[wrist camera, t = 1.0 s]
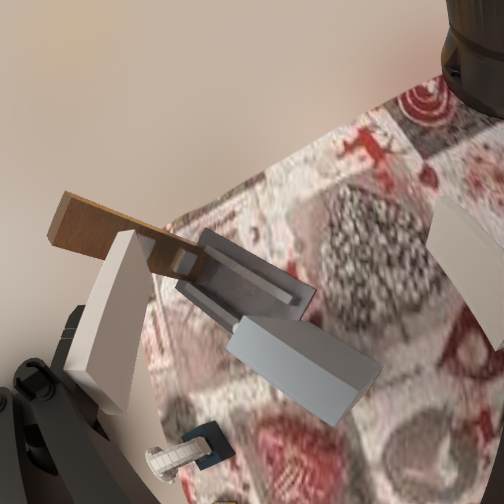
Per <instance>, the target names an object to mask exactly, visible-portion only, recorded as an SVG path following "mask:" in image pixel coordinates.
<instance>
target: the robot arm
mask: <svg viewBox="0 0 504 504" xmlns="http://www.w3.org/2000/svg"><path fill="white" fill-rule="evenodd" d="M446 3H447V10H448V17H449V25H450V28H449V31H448V34H447V37H446V40H445V43H444V47H443V49H442V53H441V65H442V73H443V77H444V79H445V81H446V83H447V85H448V86H449V88H450V89H451V91H452V92H453V93H454V94H455V95H456V96H457V97H458V98H459V99H460V100H462V101H463V102H464V103H466V104H467V105H469V106H470V107H472V108H474V109H475V110H477V111H479V112H482V113H484V114H487V115H490V116H493V117H497V118H504V0H446ZM426 247H427V249H428V250H429V251H430V253H431V254H432V255H433V257H434V258H435V259H436V261H437V262H438V263H439V265H440V266H441V267H442V269H443V270H444V272H445V273H446V274H447V276H448V277H449V279H450V280H451V281H452V283H453V284H454V286H455V287H456V289H457V290H458V292H459V293H460V295H461V296H462V298H463V299H464V301H465V302H466V304H467V305H468V307H469V308H470V310H471V311H472V313H473V315H474V316H475V318H476V319H477V321H478V323H479V324H480V326H481V327H482V329H483V331H484V332H485V334H486V336H487V338H488V339H489V341H490V343H491V344H492V346H493V348H494V350H495V351H497V350H499V349H502V348H504V250H503V249H502V248H501V247H500V246H499V245H498V243H497V242H496V241H495V240H494V239H493V238H492V237H491V236H490V235H489V234H488V233H487V232H486V231H485V230H484V229H483V228H482V227H481V226H480V225H479V224H478V223H477V222H476V221H475V220H474V219H473V218H472V217H471V216H470V215H469V214H468V213H467V212H466V211H465V210H464V209H463V208H462V207H461V206H460V205H459V204H458V203H457V202H455V201H454V200H453V199H452V198H451V197H450V196H443V197H437V200H436V205H435V210H434V215H433V219H432V223H431V227H430V232H429V236H428V240H427V243H426ZM152 283H153V278H152V276H151V273H150V271H149V268H148V265H147V263H146V260H145V257H144V254H143V252H142V249H141V246H140V243H139V240H138V237H137V235H136V232H135V230H128V231H122V232H118V234H117V236H116V238H115V240H114V242H113V244H112V246H111V248H110V250H109V253H108V255H107V257H106V259H105V261H104V264H103V266H102V268H101V270H100V273H99V275H98V278H97V280H96V282H95V285H94V287H93V289H92V292H91V294H90V296H89V299H88V301H87V304H86V305H78V306H77V307H76V308H75V310H74V311H73V312H72V313H71V314H70V316H69V318H68V321H67V323H66V325H65V330H63V333H62V336H61V340H60V341H59V344H58V346H57V349H56V352H55V355H54V357H53V360H52V363H51V366H50V368H49V367H48V366H47V365H46V364H45V363H44V361H43V360H41V359H39V358H31V359H28V360H26V361H24V362H23V363H22V364H21V365H20V366H19V367H18V369H17V371H16V372H15V375H14V379H13V386H14V388H15V389H16V390H17V391H18V392H19V394H15V395H14V394H13V393H12V392H11V391H10V390H9V389H8V388H5V387H0V504H75V503H76V504H161V503H160V502H159V501H158V500H157V499H156V497H155V496H154V495H153V494H152V493H151V491H150V490H149V489H148V487H147V486H146V485H145V484H144V482H143V481H142V480H141V478H140V477H139V476H138V474H137V473H136V472H135V470H134V469H133V468H132V466H131V465H130V463H129V462H128V461H127V459H126V458H125V456H124V455H123V454H122V452H121V450H120V449H119V447H118V446H117V444H116V443H115V442H114V440H113V438H112V437H111V435H110V434H109V432H108V430H107V429H106V427H105V426H104V424H103V422H102V421H101V419H100V418H99V417H98V416H97V413H98V408H99V407H100V408H101V409H102V410H103V411H104V412H105V413H106V414H114V415H127V410H128V403H129V397H130V391H131V384H132V379H133V373H134V367H135V361H136V357H137V351H138V346H139V341H140V336H141V331H142V327H143V322H144V317H145V313H146V308H147V304H148V300H149V295H150V291H151V287H152ZM74 501H75V502H74ZM480 504H504V426H503V431H502V435H501V439H500V443H499V447H498V451H497V455H496V458H495V462H494V465H493V468H492V472H491V475H490V478H489V481H488V484H487V487H486V490H485V492H484V495H483V498H482V500H481V503H480Z"/></svg>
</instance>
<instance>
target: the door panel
mask: <svg viewBox="0 0 504 504" xmlns="http://www.w3.org/2000/svg"><path fill="white" fill-rule="evenodd" d="M233 333H234V334H233V336H232V338H231V339H230V341H229V343H228V345H227V347H226V349H227V350H228V351H229V352H231V353H232V354H233V355H235V356H236V357H237V358H238V359H240V360H241V361H242V362H243V363H245V364H246V365H247V366H249V367H250V368H251V369H252V370H254V371H255V372H256V373H258V374H259V375H260V376H262V377H263V378H264V379H266V380H267V381H268V382H270V383H271V384H272V385H274V386H275V387H276V388H278V389H279V390H280V391H282V392H283V393H285V394H286V395H287V396H289V397H290V398H291V399H293V400H294V401H296V402H297V403H298V404H300V405H301V406H303V407H304V408H306V409H307V410H308V411H310V412H311V413H313V414H314V415H316V416H317V417H319V418H320V419H322V420H323V421H325V422H326V423H328V424H329V425H331V426H332V427H334V426H335V425H336V424H337V423H338V422H339V421H340V420H341V419H342V418H343V417H344V416H345V415H346V414H347V413H348V412H349V411H350V410H351V409H352V408H353V406H354V405H355V404H356V403H357V402H358V401H359V400H360V399H361V398H362V397H363V395H364V394H365V393H366V392H367V391H368V390H369V388H370V387H371V385H372V384H373V382H374V381H375V379H376V377H377V376H378V374H379V373H380V371H381V369H382V368H383V366H382V365H380V364H379V363H377V362H375V361H373V360H372V359H370V358H368V357H367V356H365V355H363V354H362V353H360V352H358V351H357V350H355V349H353V348H352V347H350V346H348V345H347V344H345V343H343V342H342V341H340V340H338V339H337V338H335V337H333V336H332V335H330V334H329V333H327V332H325V331H324V330H322V329H320V328H319V327H317V326H315V325H314V324H312V323H311V322H309V321H298V320H287V319H276V318H267V317H257V316H248V315H244V316H243V317H242V319H241V321H240V323H236V324H235V325H234V326H233Z"/></svg>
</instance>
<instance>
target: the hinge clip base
mask: <svg viewBox="0 0 504 504" xmlns="http://www.w3.org/2000/svg"><path fill="white" fill-rule="evenodd" d="M128 230H135V232H136V235H137V237H138V240H139V243H140V246H141V249H142V252H143V254H144V257H145V260H146V263H147V265H148V268H149V271H150V272H151V273H155V274H159V275H163V276H167V277H171V278H175V279H179V280H178V282H177V284H176V286H175V288H176V289H177V290H178V291H179V292H180V293H182V294H183V295H184V296H185V297H186V298H188V299H189V300H190V301H191V302H193V303H194V304H195V305H196V306H198V307H199V308H200V309H201V310H202V311H204V312H205V313H206V314H207V315H209V316H210V317H211V318H213V319H214V320H215V321H216V322H218V323H219V324H220V325H221V326H223V327H224V328H225V329H227V330H228V331H229V332H230V333H232V334H234V333H233V326H234V325H235V324H236V323H240V321H241V319H242V317H243V316H244V315H248V316H257V317H267V318H276V319H287V320H298V321H300V319H301V318H302V316H303V314H304V312H305V310H306V309H307V307H308V305H309V303H310V301H311V300H312V298H313V296H314V294H315V292H316V291H317V290H315V289H313V288H312V287H310V286H308V285H306V284H305V283H303V282H301V281H299V280H298V279H296V278H294V277H292V276H290V275H289V274H287V273H285V272H283V271H282V270H280V269H278V268H276V267H275V266H273V265H271V264H269V263H267V262H266V261H264V260H262V259H260V258H259V257H257V256H255V255H253V254H252V253H250V252H248V251H246V250H244V249H243V248H241V247H239V246H237V245H236V244H234V243H232V242H230V241H229V240H227V239H225V238H223V237H221V236H220V235H218V234H216V233H214V232H213V231H211V230H209V229H207V228H205V229H204V231H203V233H202V235H201V237H200V239H199V241H198V242H197V243H195V242H192V241H189V240H187V239H184V238H182V237H179V236H177V235H174V234H172V233H169V232H167V231H164V230H162V229H159V228H157V227H154V226H152V225H149V224H146V223H144V222H142V221H139V220H137V219H134V218H132V217H129V216H127V215H124V214H122V213H119V212H117V211H114V210H112V209H109V208H107V207H104V206H102V205H100V204H97V203H95V202H92V201H90V200H87V199H85V198H82V197H80V196H77V195H75V194H72V193H70V192H68V191H65V192H64V194H63V196H62V199H61V201H60V203H59V206H58V208H57V211H56V213H55V215H54V218H53V221H52V223H51V226H50V228H49V231H48V234H47V237H48V239H49V241H50V243H51V244H52V246H56V247H59V248H63V249H66V250H69V251H73V252H77V253H80V254H83V255H87V256H91V257H94V258H98V259H102V260H105V259H106V257H107V255H108V253H109V250H110V248H111V246H112V244H113V242H114V240H115V238H116V236H117V234H118V232H122V231H128Z"/></svg>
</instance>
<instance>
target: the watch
mask: <svg viewBox="0 0 504 504" xmlns="http://www.w3.org/2000/svg"><path fill="white" fill-rule="evenodd" d="M181 438H182V440H183V442H184V443H183V444H180V445H179V446H178V445H177V446H174V447H171V448H168V449H166V450H162V449H161V448H159V447H153V448H151V449H147V450H146V460H147V463H148V465H149V467H150V469H151V470H152V472H153V473H154V475H155V476H156V477H157V478H158V479H159V480H161V481H162V482H169V484H172V483H175V481H174V480H173V479H174V478H175V477H176V473H177V472H178V469H177V468H179V467H181V466H184V465H186V464H188V463H190V462H192V461H195V462H196V464H197V466H198V467H199V469H200V471H201V470H203V469H206V468H208V467H210V466H212V465H214V464H217V463H219V462H221V461H223V460H225V459H227V458H229V457H231V456H233V455H235V452H234V451H233V449H232V447H231V446H230V444H229V443H228V441H227V439H226V438H225V436H224V435H223V433H222V431H221V430H220V428H219V426H218V425H217V423H216V421H212V422H209V423H206V424H203V425H200V426H198V427H197V428H195V429H193V430H192V431H190V432H188V433H186V434H185V435H183V436H181ZM175 450H176V451H175ZM171 451H172V452H171ZM186 459H187V460H186ZM185 462H186V463H185ZM179 465H180V466H179Z"/></svg>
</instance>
